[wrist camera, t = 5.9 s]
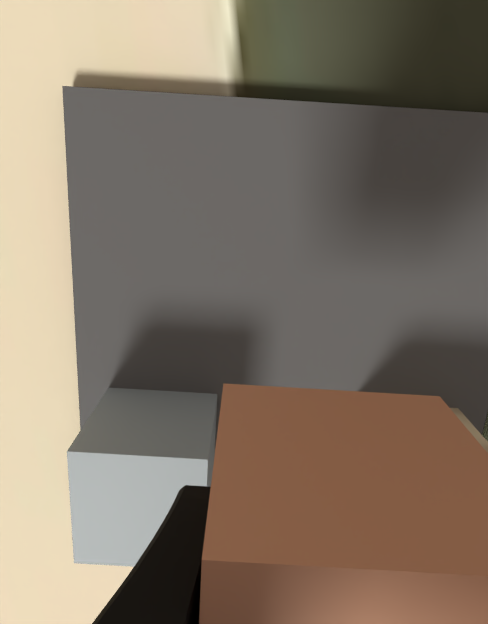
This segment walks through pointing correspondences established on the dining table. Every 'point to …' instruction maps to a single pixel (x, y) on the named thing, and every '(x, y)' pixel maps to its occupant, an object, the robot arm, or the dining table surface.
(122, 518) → the slate block
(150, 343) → the mat
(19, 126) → the dining table surface
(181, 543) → the robot arm
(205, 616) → the terracotta block
